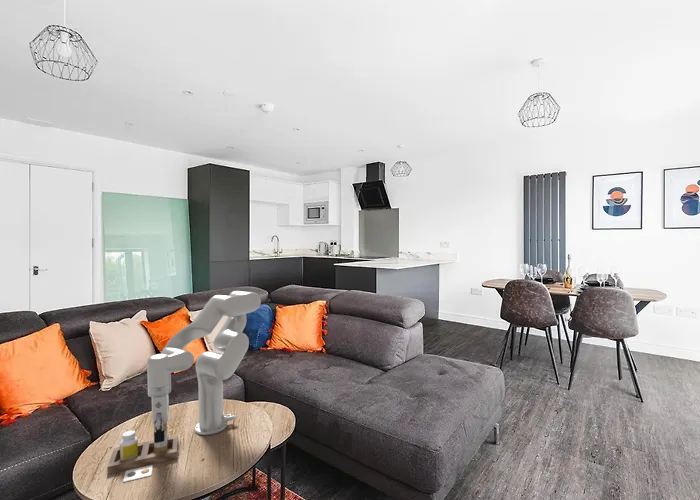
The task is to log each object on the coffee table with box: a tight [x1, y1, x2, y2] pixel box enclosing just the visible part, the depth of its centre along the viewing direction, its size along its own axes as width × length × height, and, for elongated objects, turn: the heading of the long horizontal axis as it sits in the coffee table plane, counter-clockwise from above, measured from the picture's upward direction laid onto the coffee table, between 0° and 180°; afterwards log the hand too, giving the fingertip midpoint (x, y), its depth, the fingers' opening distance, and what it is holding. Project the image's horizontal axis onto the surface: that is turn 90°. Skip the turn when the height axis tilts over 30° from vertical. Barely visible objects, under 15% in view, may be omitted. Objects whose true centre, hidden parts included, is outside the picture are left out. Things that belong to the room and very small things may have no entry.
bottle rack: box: [106, 435, 179, 475], centre depth 130 cm, size 21×12×2 cm, turn 114°
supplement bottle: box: [119, 429, 139, 461], centre depth 128 cm, size 5×5×10 cm
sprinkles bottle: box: [153, 420, 169, 454], centre depth 132 cm, size 5×5×14 cm
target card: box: [122, 464, 154, 483], centre depth 121 cm, size 8×6×1 cm
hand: (160, 435), depth 132 cm, fingers open, 9 cm apart
